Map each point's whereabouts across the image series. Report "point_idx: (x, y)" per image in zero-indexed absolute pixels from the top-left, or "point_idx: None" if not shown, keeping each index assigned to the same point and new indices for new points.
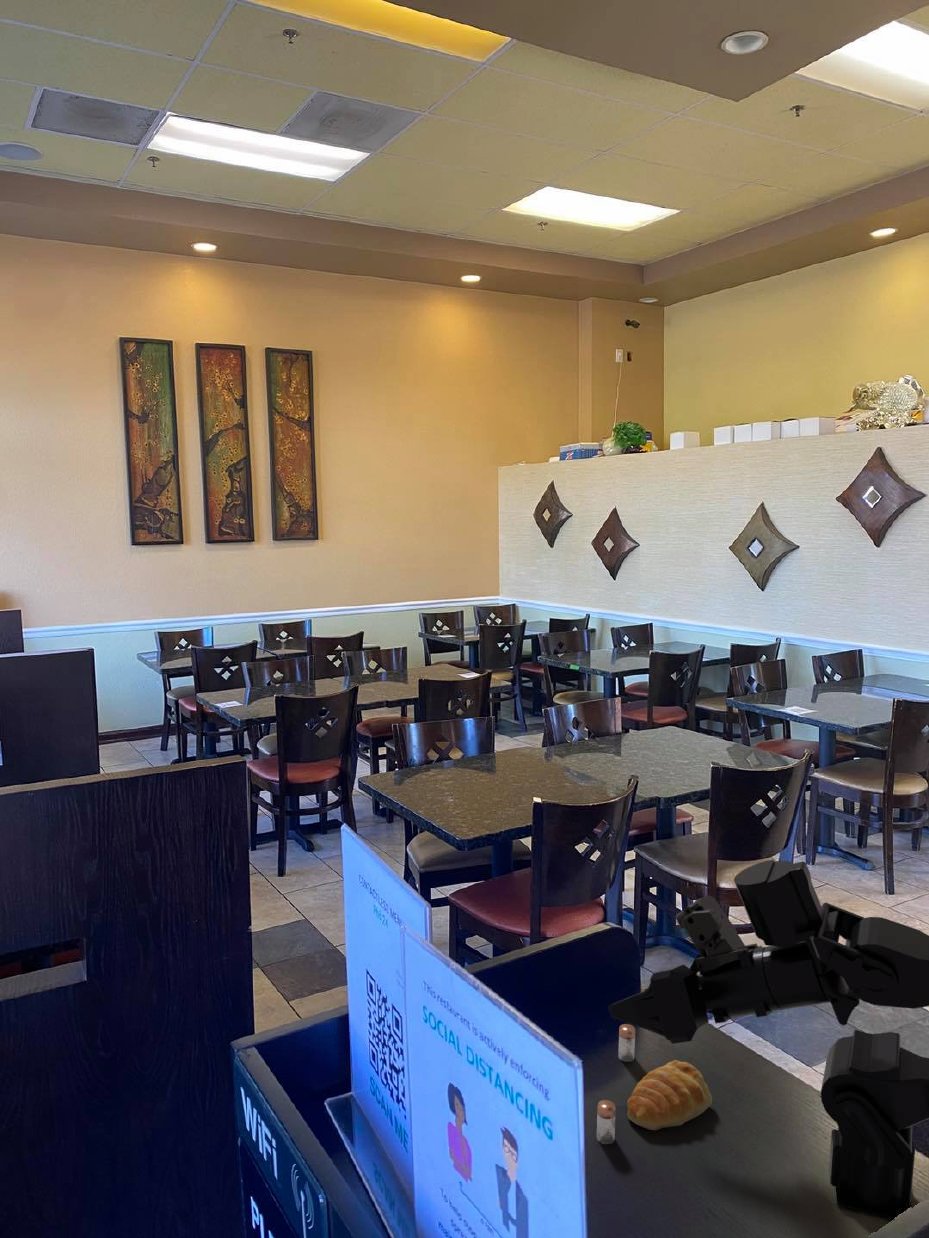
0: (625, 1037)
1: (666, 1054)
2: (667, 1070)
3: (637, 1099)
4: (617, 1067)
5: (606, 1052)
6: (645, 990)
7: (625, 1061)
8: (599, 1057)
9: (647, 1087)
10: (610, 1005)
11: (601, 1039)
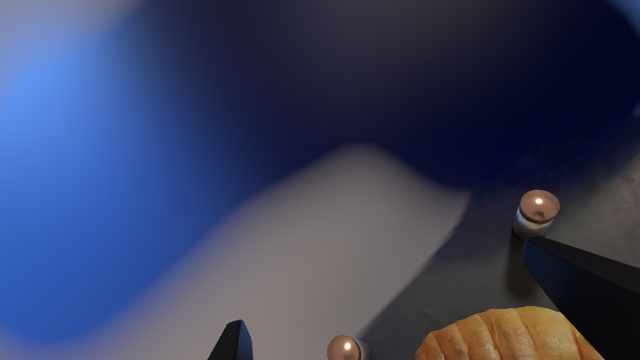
0: (525, 216)
1: (625, 262)
2: (544, 354)
3: (434, 356)
4: (493, 241)
5: (500, 203)
6: (531, 243)
7: (518, 236)
8: (480, 207)
9: (467, 354)
10: (224, 329)
11: (514, 175)
